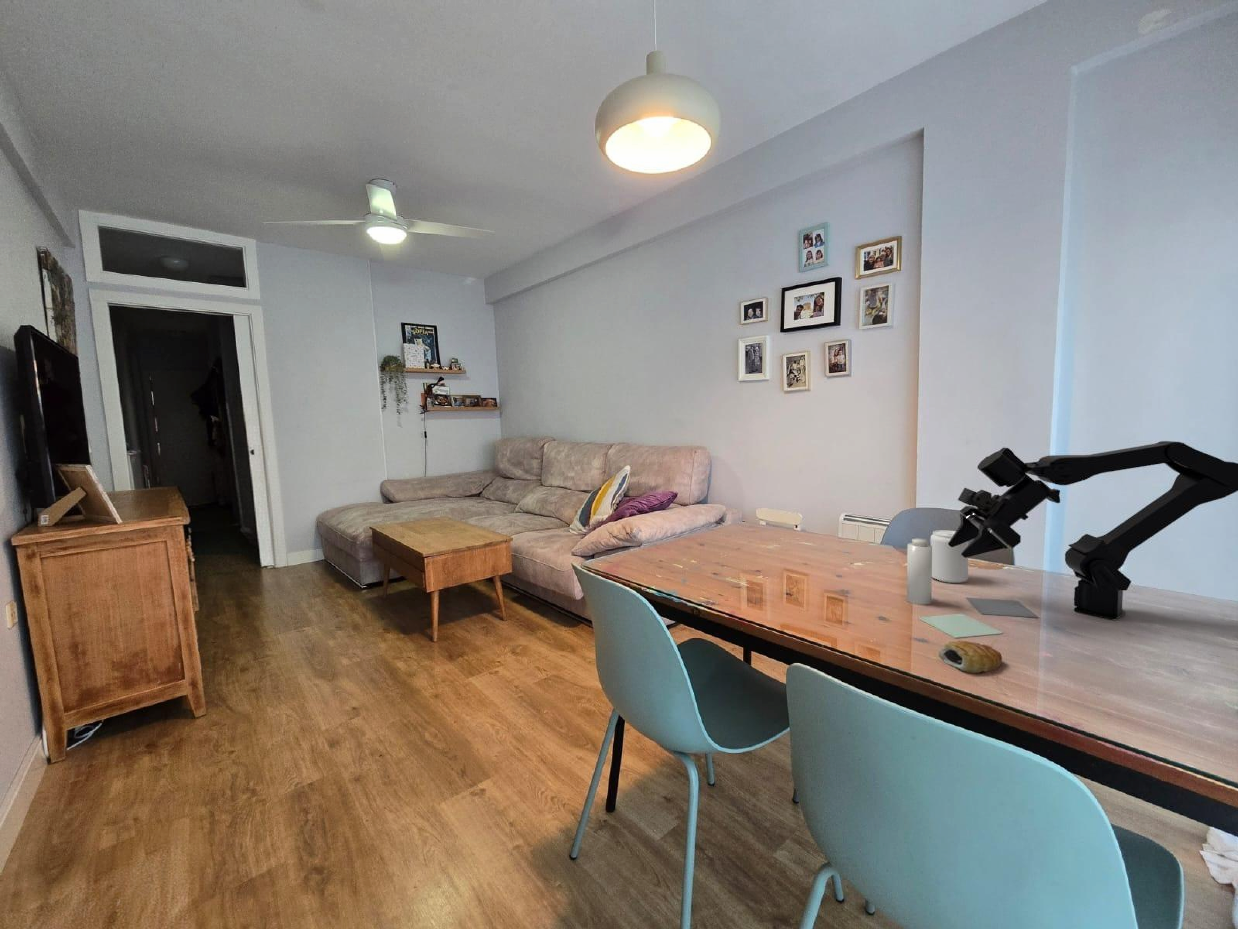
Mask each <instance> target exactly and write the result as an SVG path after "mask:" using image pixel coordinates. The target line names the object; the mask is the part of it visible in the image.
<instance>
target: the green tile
mask: <svg viewBox="0 0 1238 929" xmlns="http://www.w3.org/2000/svg"><path fill="white" fill-rule="evenodd" d="M917 619H918V620H920V621H923V622H924V623H926V624H928V625H929V624H930V625H929V626H932V627H933V626H934V628H935V629H937V630H939V631H941V632H943V633H945V634H947V635H949V637H952V638H954V639H961V638H962V639H963V638H973V637H983V636H993V635H1002V634H1004V632H1003V631H1000V630H998V629H996V628H993V627H992V626H989V625H987V624H985V623H982V622H981V621H978V620H977V619H974V618H972V617H970V616H968V615H965V614H963V613H957V614H945V615H933V616H921V617H918V618H917Z"/></svg>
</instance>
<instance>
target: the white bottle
mask: <svg viewBox="0 0 1238 929" xmlns="http://www.w3.org/2000/svg"><path fill="white" fill-rule="evenodd" d="M928 541H929V540H927V539H925V538H912V539H911V542H910V543H909V542H908V543H907V548H906V550H907V551H906V552H907V554H906V555H907V560H906V562H907V564H906V565H907V566H906V568H907V570H906V571H907V572H906V574H907V575H906V580H907V581H906V582H907V583H906V601H907V602H908V603H909V604H910V603H911V604H915V605H918V606H919V605H920V606H927V605H932V590H933V589H932V585H933V584H932V580H933V577H932V545H931V544H930V543H929V544H928Z"/></svg>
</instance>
